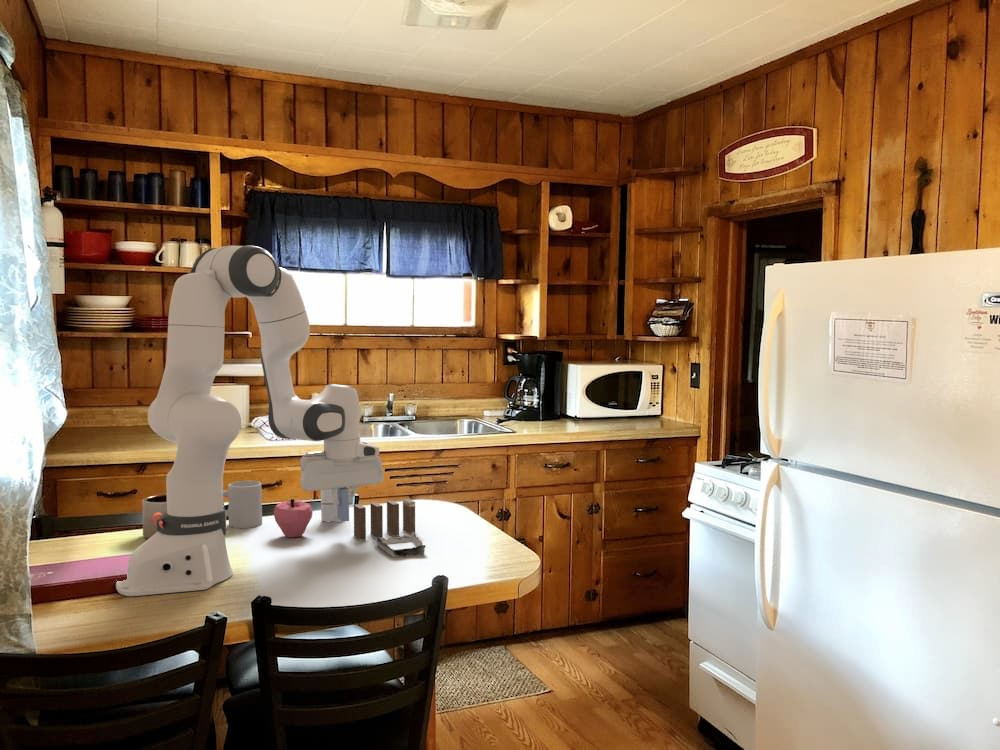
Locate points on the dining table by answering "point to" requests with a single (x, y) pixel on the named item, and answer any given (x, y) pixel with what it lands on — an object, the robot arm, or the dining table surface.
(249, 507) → the mug
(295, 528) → the apple
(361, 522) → the domino
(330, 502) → the syrup box
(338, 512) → the domino
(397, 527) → the domino
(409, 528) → the domino
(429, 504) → the dining table surface
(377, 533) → the domino
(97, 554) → the dining table surface
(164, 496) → the planter
